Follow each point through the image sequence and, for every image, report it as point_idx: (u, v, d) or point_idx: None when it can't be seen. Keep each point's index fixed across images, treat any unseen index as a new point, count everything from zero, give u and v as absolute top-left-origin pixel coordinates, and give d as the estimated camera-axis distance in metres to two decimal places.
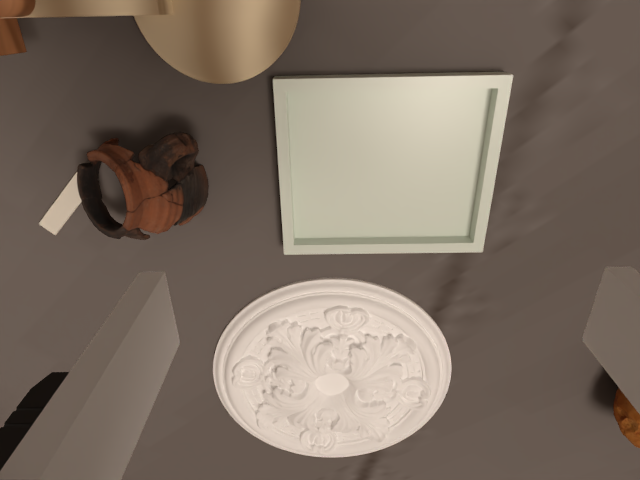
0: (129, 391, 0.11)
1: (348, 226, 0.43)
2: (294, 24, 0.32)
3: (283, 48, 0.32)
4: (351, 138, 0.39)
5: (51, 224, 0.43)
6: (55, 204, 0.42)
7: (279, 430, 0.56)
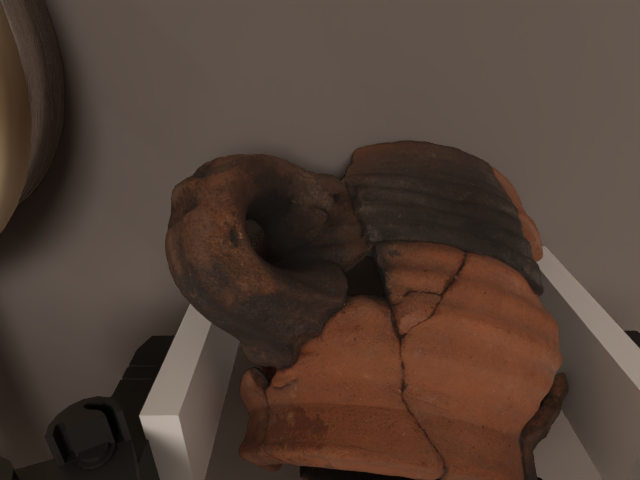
0: (220, 353, 0.12)
1: None
2: None
3: None
4: None
5: None
6: None
7: None
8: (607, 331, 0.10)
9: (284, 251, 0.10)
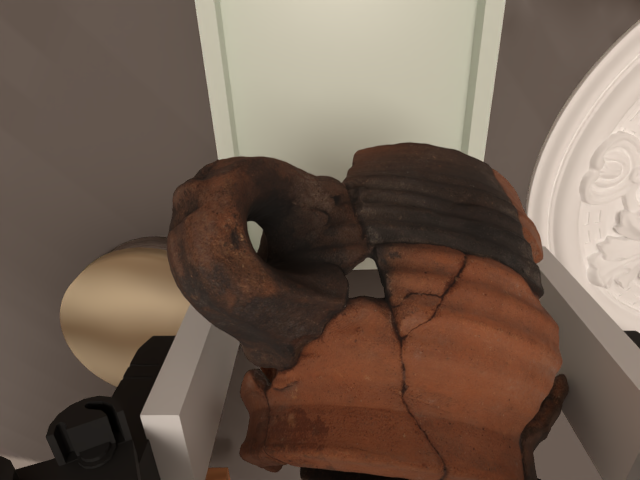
0: (221, 353, 0.12)
1: None
2: (163, 264, 0.28)
3: None
4: None
5: None
6: None
7: None
8: (607, 331, 0.10)
9: (285, 253, 0.10)
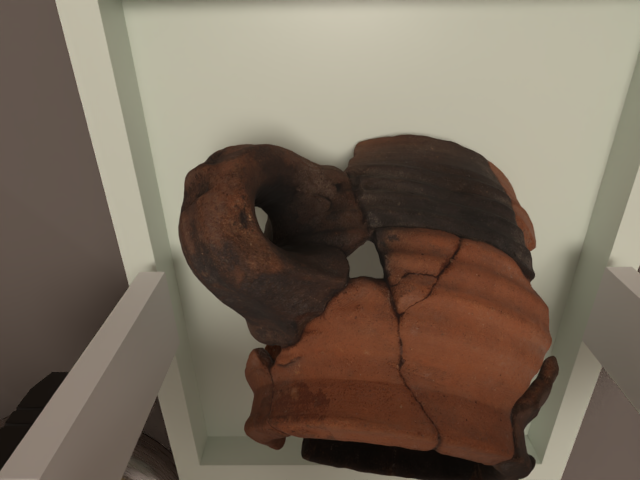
0: (130, 391, 0.11)
1: None
2: None
3: None
4: None
5: None
6: None
7: None
8: None
9: (289, 237, 0.11)
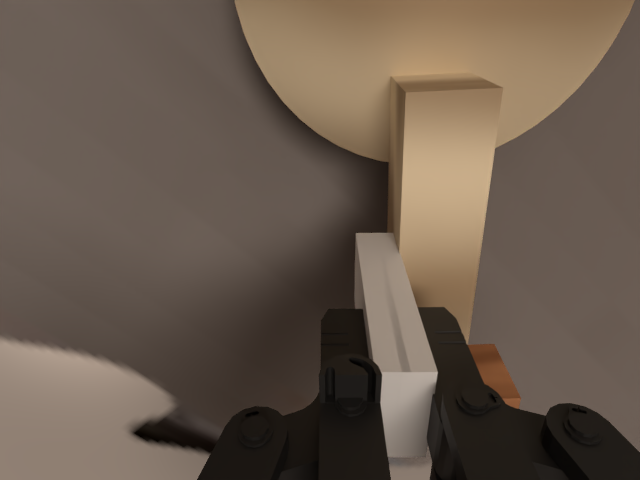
0: None
1: None
2: None
3: None
4: None
5: None
6: None
7: None
8: (401, 305, 0.11)
9: None
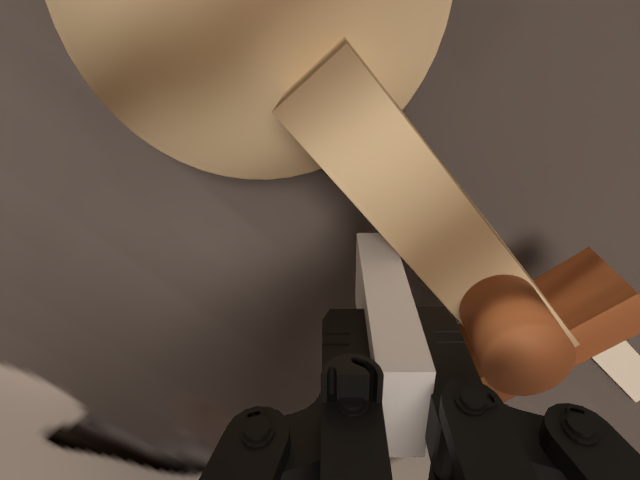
0: None
1: None
2: None
3: None
4: None
5: None
6: (610, 371, 0.24)
7: None
8: (400, 305, 0.11)
9: None
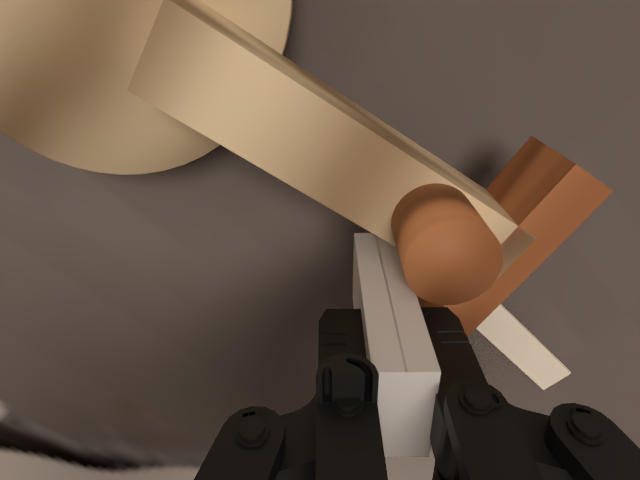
0: None
1: None
2: None
3: None
4: None
5: (550, 373, 0.25)
6: (515, 359, 0.24)
7: None
8: (404, 305, 0.11)
9: None
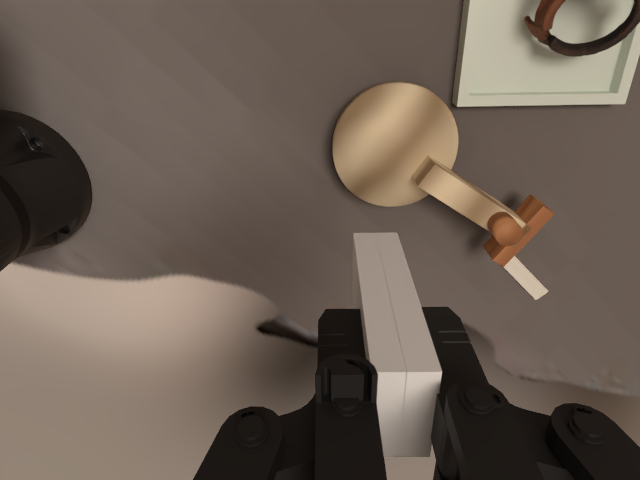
0: None
1: (611, 31, 0.41)
2: (359, 98, 0.40)
3: (377, 89, 0.40)
4: (519, 31, 0.41)
5: (538, 291, 0.54)
6: (523, 285, 0.54)
7: None
8: (405, 305, 0.11)
9: None
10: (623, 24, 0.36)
